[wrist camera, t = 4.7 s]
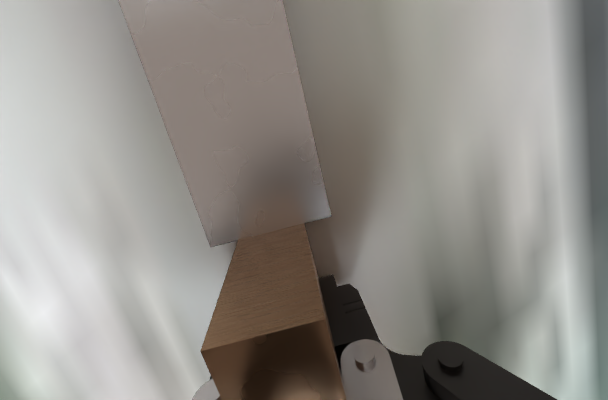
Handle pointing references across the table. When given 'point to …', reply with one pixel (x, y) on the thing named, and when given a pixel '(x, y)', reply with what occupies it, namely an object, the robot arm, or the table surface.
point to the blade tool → (246, 186)
